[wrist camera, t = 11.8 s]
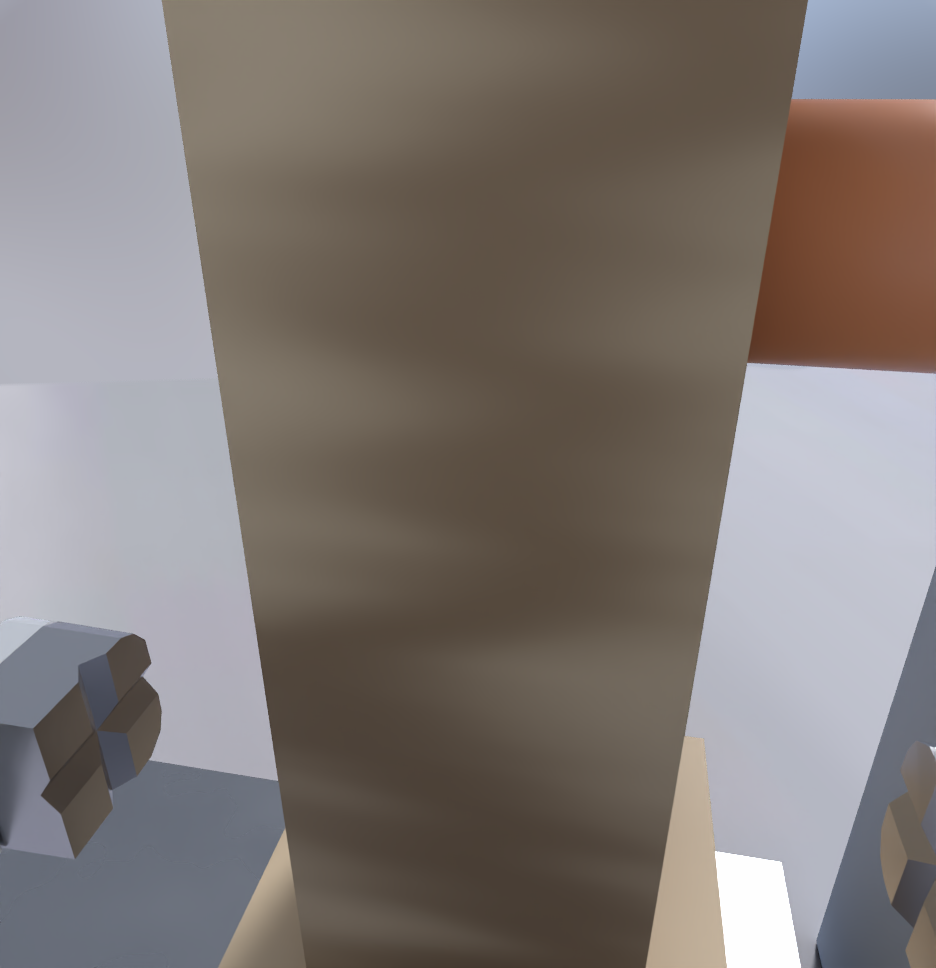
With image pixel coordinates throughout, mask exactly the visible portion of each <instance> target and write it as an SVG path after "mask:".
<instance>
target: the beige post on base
mask: <svg viewBox="0 0 936 968" xmlns="http://www.w3.org/2000/svg"><path fill="white" fill-rule="evenodd" d="M807 2H808V0H162V4H163V11H164V18H165V25H166V32H167V38H168V45H169V52H170V58H171V65H172V71H173V78H174V85H175V92H176V98H177V105H178V112H179V119H180V125H181V132H182V139H183V145H184V152H185V158H186V165H187V172H188V179H189V186H190V192H191V199H192V206H193V212H194V219H195V226H196V232H197V239H198V245H199V253H200V259H201V266H202V273H203V279H204V286H205V293H206V299H207V306H208V313H209V320H210V326H211V333H212V340H213V346H214V353H215V360H216V366H217V373H218V380H219V386H220V393H221V400H222V407H223V413H224V420H225V427H226V433H227V440H228V447H229V453H230V460H231V467H232V474H233V480H234V487H235V494H236V500H237V507H238V514H239V520H240V527H241V534H242V541H243V547H244V554H245V561H246V567H247V574H248V581H249V587H250V594H251V601H252V607H253V614H254V621H255V628H256V634H257V641H258V648H259V654H260V661H261V668H262V674H263V681H264V688H265V695H266V701H267V708H268V715H269V721H270V728H271V735H272V741H273V748H274V755H275V762H276V768H277V775H278V782H279V788H280V795H281V802H282V808H283V815H284V822H285V829H284V831H283V834H282V836H281V838H280V840H279V842H278V844H277V846H276V848H275V850H274V852H273V854H272V856H271V858H270V861H269V863H268V865H267V867H266V869H265V871H264V873H263V875H262V877H261V879H260V881H259V883H258V886H257V888H256V890H255V892H254V894H253V896H252V898H251V900H250V902H249V904H248V906H247V908H246V911H245V913H244V915H243V917H242V919H241V921H240V923H239V925H238V927H237V929H236V931H235V933H234V935H233V938H232V940H231V942H230V944H229V946H228V948H227V950H226V952H225V954H224V956H223V958H222V960H221V963H220V965H219V967H218V968H727V960H726V950H725V940H724V930H723V921H722V911H721V901H720V892H719V882H718V872H717V862H716V853H715V843H714V833H713V823H712V814H711V804H710V794H709V785H708V775H707V765H706V755H705V746H704V739H702V738H695V737H687V736H685V730H686V724H687V718H688V712H689V706H690V700H691V694H692V688H693V682H694V676H695V670H696V665H697V659H698V653H699V647H700V641H701V635H702V629H703V623H704V617H705V611H706V605H707V599H708V593H709V587H710V581H711V575H712V569H713V563H714V557H715V551H716V545H717V539H718V533H719V527H720V521H721V515H722V509H723V504H724V498H725V492H726V486H727V480H728V474H729V468H730V462H731V456H732V450H733V444H734V438H735V432H736V426H737V420H738V414H739V408H740V402H741V396H742V390H743V384H744V378H745V372H746V366H747V360H748V354H749V349H750V343H751V337H752V331H753V325H754V319H755V313H756V307H757V301H758V295H759V289H760V283H761V277H762V271H763V265H764V259H765V253H766V247H767V241H768V235H769V229H770V223H771V217H772V211H773V205H774V199H775V193H776V188H777V182H778V176H779V170H780V164H781V158H782V152H783V146H784V140H785V134H786V128H787V122H788V116H789V110H790V104H791V97H792V92H793V86H794V80H795V74H796V68H797V62H798V56H799V49H800V44H801V38H802V32H803V26H804V20H805V14H806V9H807Z"/></svg>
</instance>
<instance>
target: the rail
mask: <svg viewBox="0 0 936 968" xmlns="http://www.w3.org/2000/svg"><path fill="white" fill-rule="evenodd" d="M112 791H113V809H112V811H111V812H110V813H109V815H108V816H107V817H106V819H105V820H104V821H103V823H102V824H101V825H100V827H99V828H98V829H97V831H96V832H95V833H94V835H93V836H92V837H91V839H90V840H89V841H88V843H87V844H86V845H85V847H84V848H83V849H82V851H81V852H80V853H79V855H78V856H77V857H76V859H69V858H63V857H57V856H51V855H44V854H38V853H32V852H26V851H19V850H13V849H7V848H1V849H2V852H1V853H0V968H218V967H219V965H220V963H221V960H222V958H223V956H224V954H225V952H226V950H227V948H228V946H229V944H230V942H231V940H232V938H233V935H234V933H235V931H236V929H237V927H238V925H239V923H240V921H241V919H242V917H243V915H244V913H245V911H246V908H247V906H248V904H249V902H250V900H251V898H252V896H253V894H254V892H255V890H256V888H257V886H258V883H259V881H260V879H261V877H262V875H263V873H264V871H265V869H266V867H267V865H268V863H269V861H270V858H271V856H272V854H273V852H274V850H275V848H276V846H277V844H278V842H279V840H280V838H281V836H282V834H283V831H284V829H285V822H284V815H283V808H282V802H281V795H280V788H279V782H278V781H274V780H268V779H261V778H255V777H249V776H243V775H237V774H230V773H224V772H218V771H212V770H206V769H199V768H193V767H187V766H181V765H175V764H169V763H162V762H156V761H150V760H148V761H147V763H146V764H145V766H144V767H143V768H142V770H141V771H140V773H139V774H138V776H137V777H135V778H133V779H131V780H130V781H128V782H126V783H124V784H122V785H121V786H119V787H117V788H115V789H114V790H112ZM715 853H716V862H717V872H718V882H719V892H720V901H721V911H722V921H723V930H724V940H725V950H726V960H727V968H801V966H800V961H799V955H798V950H797V945H796V939H795V934H794V928H793V923H792V918H791V912H790V907H789V902H788V896H787V891H786V886H785V880H784V875H783V870H782V864H781V862H776V861H770V860H763V859H757V858H751V857H745V856H739V855H732V854H726V853H720V852H715Z"/></svg>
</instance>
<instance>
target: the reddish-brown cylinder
mask: <svg viewBox="0 0 936 968" xmlns="http://www.w3.org/2000/svg"><path fill="white" fill-rule="evenodd" d="M747 363H760V364H778V365H795V366H796V365H797V366H812V367H830V368H847V369H864V370H882V371H899V372H916V373H934V374H936V100H919V99H915V100H914V99H911V100H910V99H909V100H906V99H904V100H903V99H901V100H900V99H898V100H896V99H895V100H894V99H873V100H872V99H791V104H790V110H789V116H788V122H787V128H786V134H785V140H784V146H783V152H782V158H781V164H780V170H779V176H778V182H777V188H776V193H775V199H774V205H773V211H772V217H771V223H770V229H769V235H768V241H767V247H766V253H765V259H764V265H763V271H762V277H761V283H760V289H759V295H758V301H757V307H756V313H755V319H754V325H753V331H752V337H751V343H750V349H749V354H748V360H747Z"/></svg>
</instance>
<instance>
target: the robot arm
mask: <svg viewBox="0 0 936 968" xmlns="http://www.w3.org/2000/svg"><path fill="white" fill-rule="evenodd" d="M150 665H151V660H150V656H149V653H148V649H147V645H146V642H145V640H144V639H142V638H140V637H139V636H137V635H135V634H132V633H126V632H120V631H114V630H107V629H101V628H95V627H89V626H83V625H77V624H71V623H64V622H52V621H47V620H41V619H34V618H28V617H22V616H20V617H16V618H11V619H7V620H4V621H3V622H2V623H0V853H1V852H2V849H1V848H7V849H13V850H19V851H26V852H32V853H38V854H44V855H51V856H57V857H63V858H69V859H76V857H77V856H78V855H79V853H80V852H81V851H82V849H83V848H84V847H85V845H86V844H87V843H88V841H89V840H90V839H91V837H92V836H93V835H94V833H95V832H96V831H97V829H98V828H99V827H100V825H101V824H102V823H103V821H104V820H105V819H106V817H107V816H108V815H109V813H110V812H111V811H112V809H113V791H112V790H114V789H115V788H117V787H119V786H121V785H122V784H124V783H126V782H128V781H130V780H131V779H133V778H135V777H137V776H138V774H139V773H140V771H141V770H142V768H143V767H144V766H145V764H146V763H147V761H148V760H149V759H150V757H151V756H152V753H153V750H154V747H155V744H156V742H157V739H158V736H159V733H160V730H161V712H162V711H161V706H160V701H159V696H158V693H157V692H156V691H155V690H154V689H153V688H152V687H151V685H150V684H149V683H148V682H147V681H146V680H145V679H144V678H143V675H144V674H145V672H146V671H147V669H148V668H149V666H150ZM900 771H901V774H902V777H903V779H904V782H905V785H906V787H907V790H908V792H906V793H905V794H903V795H901V796H900V797H898V798H897V799H895V800H893V801H892V802H890V803H889V804H888V807H887V811H886V814H885V817H884V821H883V824H882V828H881V848H880V859H881V866H882V872H883V879H884V883H885V886H886V890H887V893H888V896H889V900H890V903H891V905H892V907H893V908H894V909H895V910H896V911H897V912H898V913H899V914H900V915H901V916H902V917H903V918H904V919H905V920H906V921H907V922H908V923H909V924H910V925H911V926H912V927H913V928H914V929H913V932H912V934H911V937H910V940H909V942H908V945H907V947H906V950H905V951H906V954H907V957H908V960H909V964H910V967H911V968H936V743H932V742H924V741H917V740H916V741H915V742H914V744H913V745H912V746H911V747H910V748H909V749H908V750H907V752H906V755H905V758H904V761H903V763H902V766H901V769H900Z"/></svg>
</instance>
